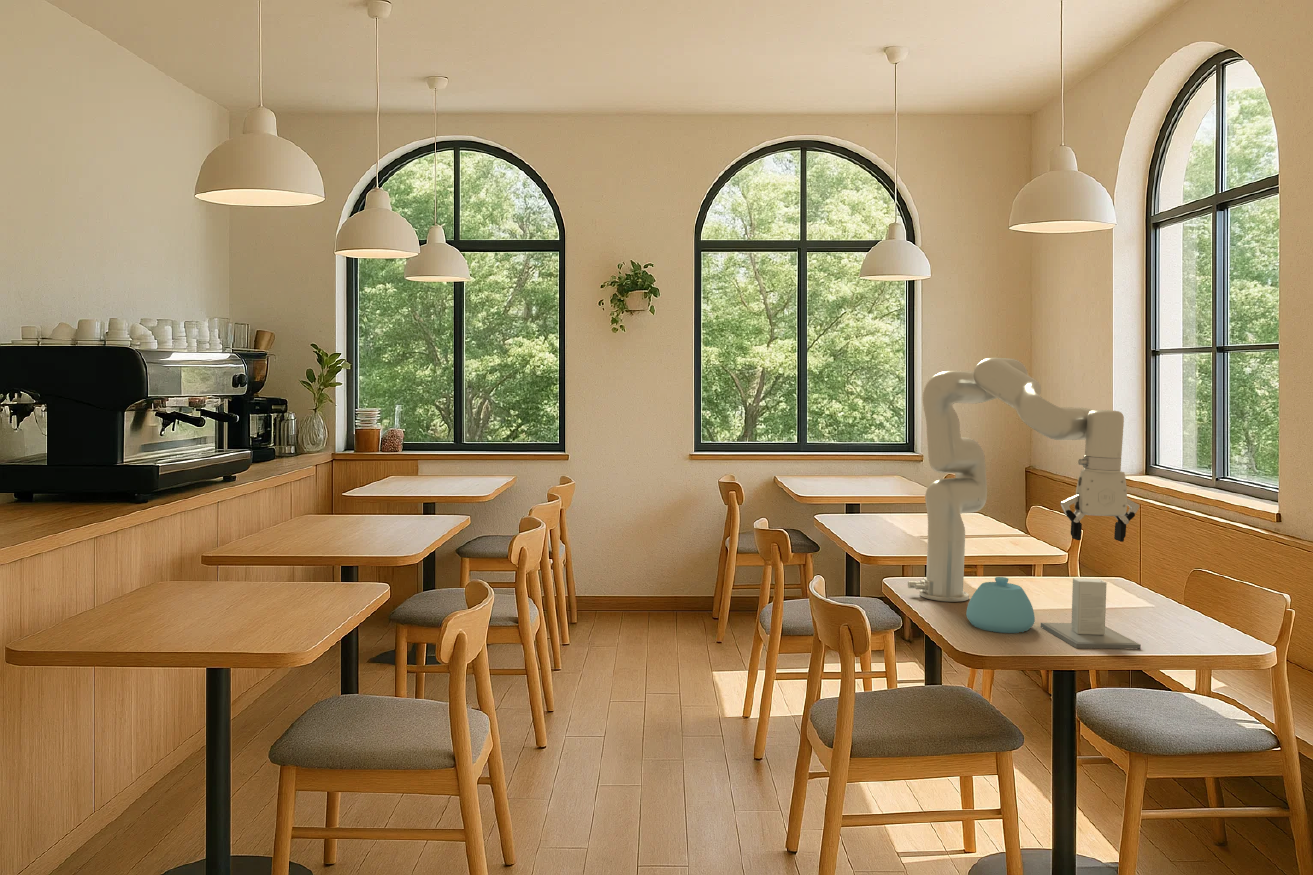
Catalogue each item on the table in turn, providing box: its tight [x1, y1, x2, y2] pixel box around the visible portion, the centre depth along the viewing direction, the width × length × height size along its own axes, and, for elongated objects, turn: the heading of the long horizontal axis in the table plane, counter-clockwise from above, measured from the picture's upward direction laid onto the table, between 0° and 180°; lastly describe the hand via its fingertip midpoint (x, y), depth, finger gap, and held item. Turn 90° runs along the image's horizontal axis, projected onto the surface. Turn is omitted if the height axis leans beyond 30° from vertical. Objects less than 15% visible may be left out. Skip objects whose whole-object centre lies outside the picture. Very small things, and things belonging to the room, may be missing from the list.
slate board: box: [1040, 622, 1142, 649], centre depth 211 cm, size 14×18×1 cm
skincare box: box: [1071, 577, 1108, 635], centre depth 211 cm, size 6×4×12 cm
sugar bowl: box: [966, 576, 1036, 634], centre depth 219 cm, size 15×15×12 cm
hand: (1097, 539), depth 213 cm, fingers open, 9 cm apart
